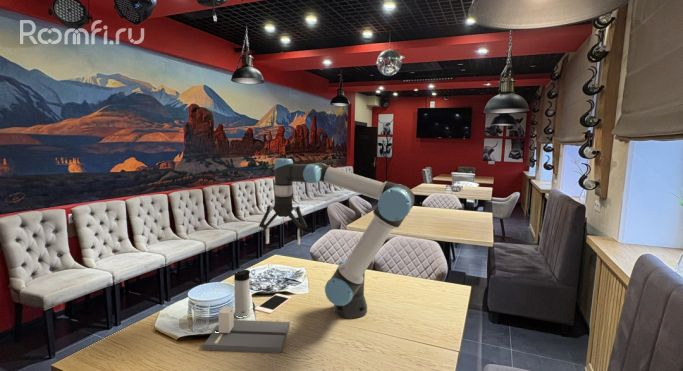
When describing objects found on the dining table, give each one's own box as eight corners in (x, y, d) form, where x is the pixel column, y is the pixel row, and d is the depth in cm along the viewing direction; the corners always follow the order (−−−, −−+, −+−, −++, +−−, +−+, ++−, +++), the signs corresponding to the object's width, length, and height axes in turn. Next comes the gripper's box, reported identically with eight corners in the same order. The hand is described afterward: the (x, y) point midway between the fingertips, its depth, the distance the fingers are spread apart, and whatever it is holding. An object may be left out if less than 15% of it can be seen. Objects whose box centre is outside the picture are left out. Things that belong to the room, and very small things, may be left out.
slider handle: (233, 330, 136) (233, 306, 135) (229, 337, 131) (229, 312, 130) (223, 330, 136) (223, 306, 135) (218, 337, 131) (218, 312, 130)
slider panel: (289, 326, 142) (289, 321, 142) (280, 352, 124) (280, 347, 124) (222, 324, 143) (222, 319, 143) (203, 349, 125) (203, 344, 125)
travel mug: (246, 319, 147) (245, 274, 145) (232, 317, 148) (231, 272, 146) (252, 312, 153) (252, 269, 151) (239, 310, 154) (238, 267, 152)
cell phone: (254, 310, 156) (254, 308, 156) (276, 295, 172) (276, 293, 172) (270, 314, 152) (270, 312, 152) (292, 298, 169) (292, 296, 169)
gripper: (313, 194, 150) (312, 242, 153) (256, 192, 151) (256, 240, 153) (311, 197, 143) (310, 247, 145) (251, 195, 144) (252, 245, 146)
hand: (283, 243), depth 149 cm, fingers open, 13 cm apart
